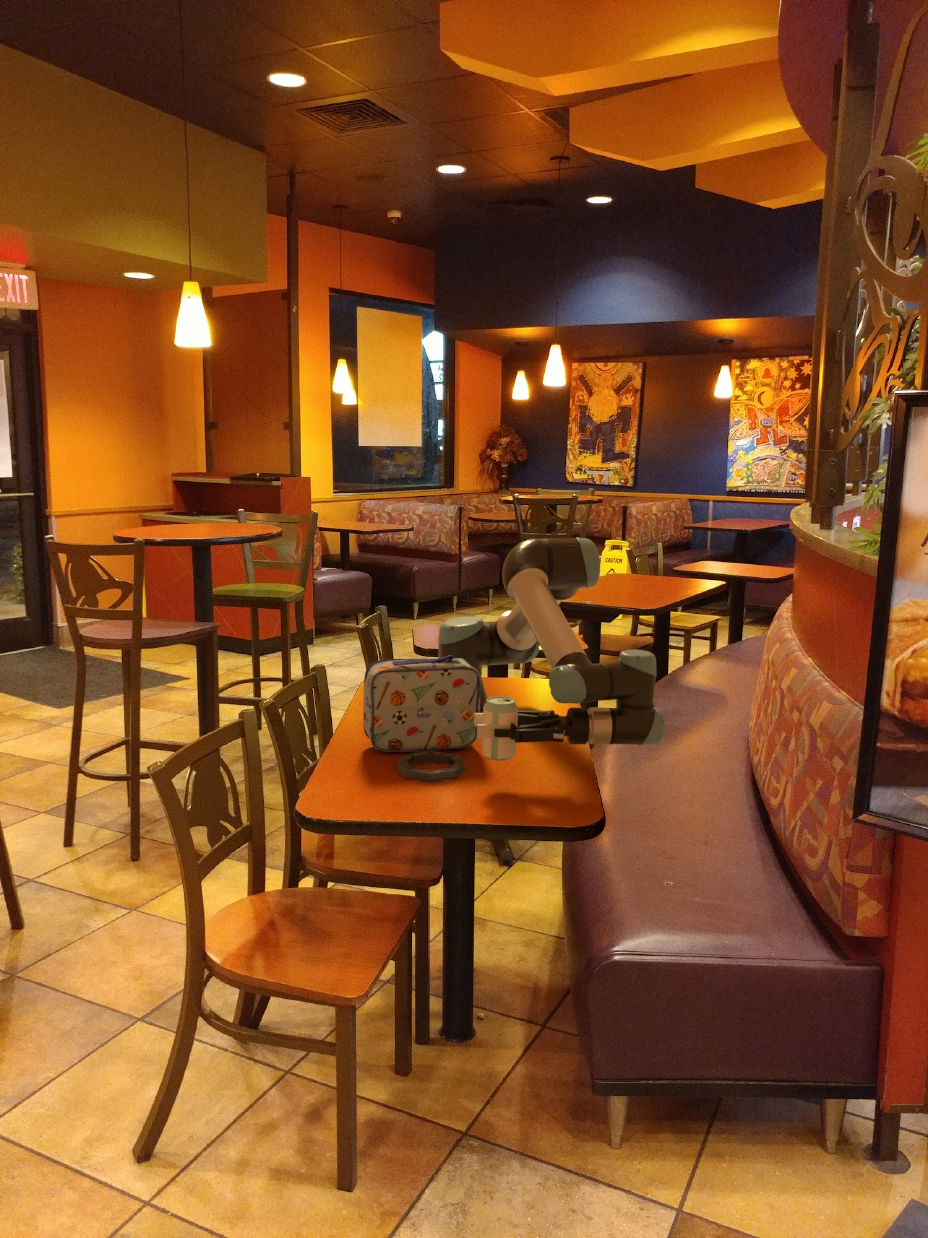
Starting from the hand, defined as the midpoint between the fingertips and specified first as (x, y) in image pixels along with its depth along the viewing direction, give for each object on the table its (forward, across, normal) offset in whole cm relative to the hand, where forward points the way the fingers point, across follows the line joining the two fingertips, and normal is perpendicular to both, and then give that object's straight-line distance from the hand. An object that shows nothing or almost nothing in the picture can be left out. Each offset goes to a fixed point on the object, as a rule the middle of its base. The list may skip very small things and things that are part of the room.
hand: (476, 725), depth 196 cm
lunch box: (+10, +25, -13) cm, 30 cm away
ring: (+9, +8, -13) cm, 18 cm away
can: (-5, 0, -7) cm, 8 cm away
